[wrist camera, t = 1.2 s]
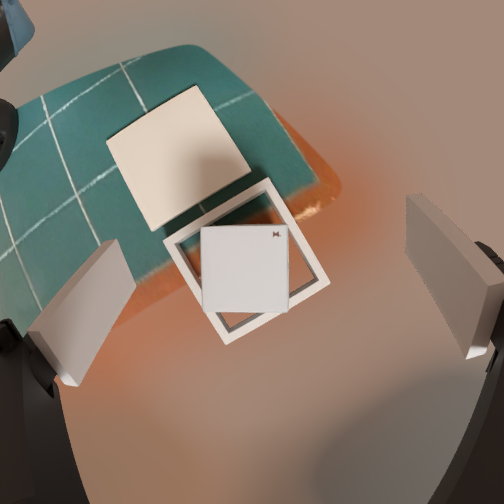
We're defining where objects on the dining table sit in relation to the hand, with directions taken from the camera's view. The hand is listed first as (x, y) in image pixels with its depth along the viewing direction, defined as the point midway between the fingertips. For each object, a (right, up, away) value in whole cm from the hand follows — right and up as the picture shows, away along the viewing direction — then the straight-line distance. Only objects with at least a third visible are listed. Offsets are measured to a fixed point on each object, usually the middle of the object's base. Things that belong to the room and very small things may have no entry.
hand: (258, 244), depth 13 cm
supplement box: (-1, -1, +25) cm, 25 cm away
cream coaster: (-10, +12, +24) cm, 29 cm away
